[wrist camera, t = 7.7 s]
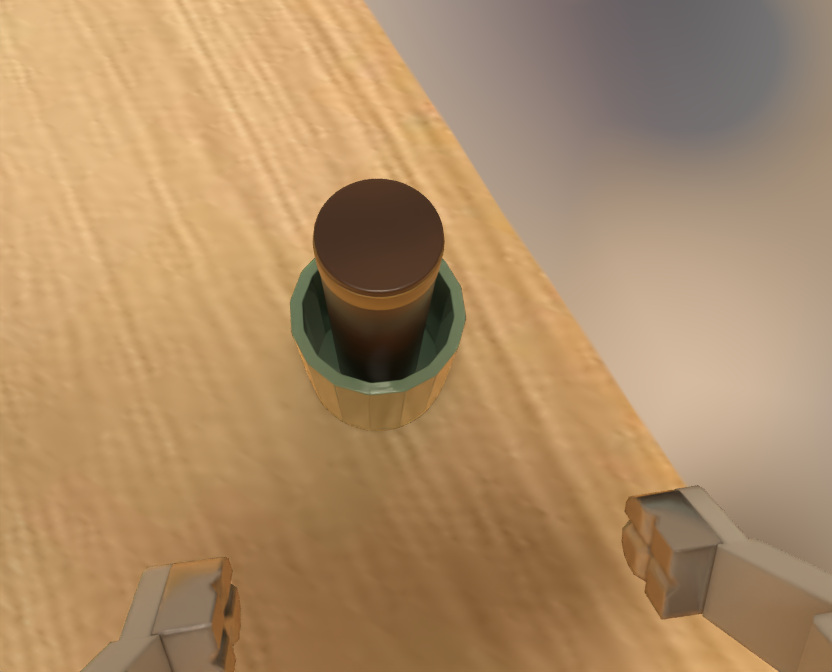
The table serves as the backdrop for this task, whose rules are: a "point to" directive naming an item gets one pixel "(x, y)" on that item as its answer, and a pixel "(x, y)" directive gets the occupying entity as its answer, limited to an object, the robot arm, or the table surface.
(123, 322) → the table surface
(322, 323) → the tumbler
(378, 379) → the rod
